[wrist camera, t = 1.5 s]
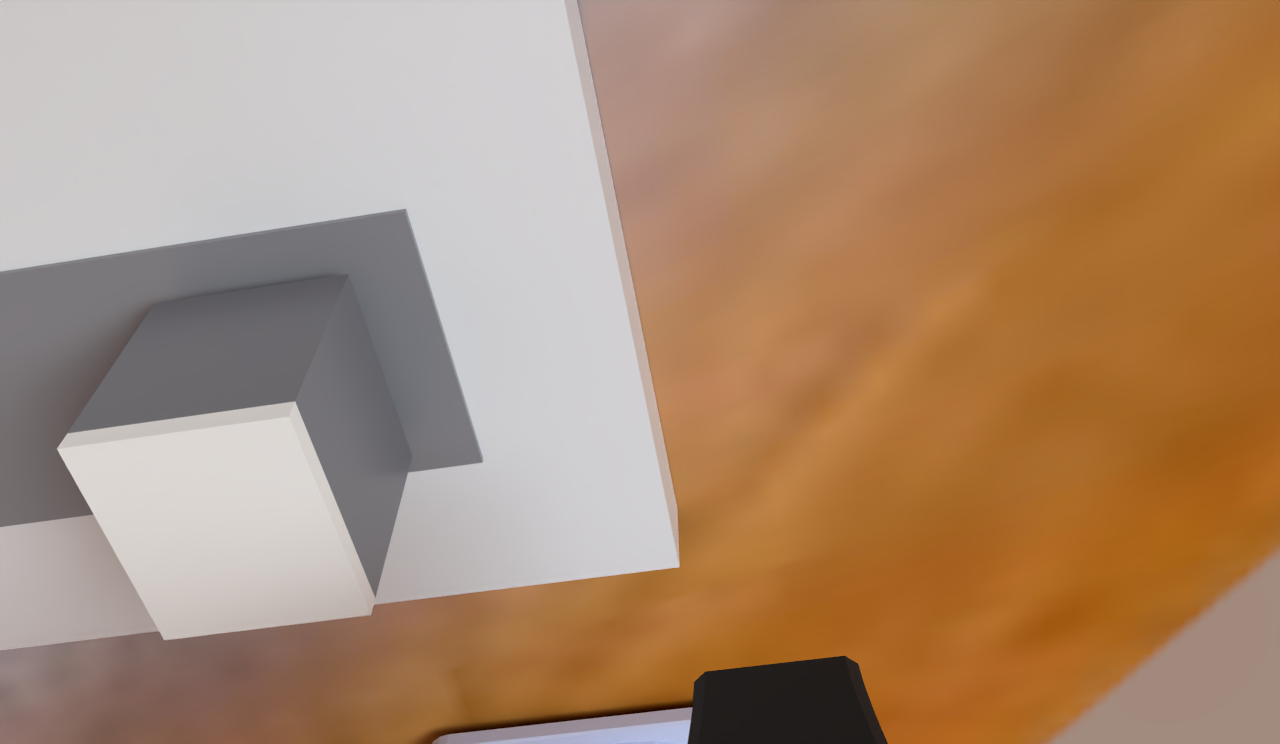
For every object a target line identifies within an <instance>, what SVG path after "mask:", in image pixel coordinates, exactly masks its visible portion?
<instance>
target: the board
mask: <svg viewBox="0 0 1280 744" xmlns="http://www.w3.org/2000/svg"><path fill="white" fill-rule="evenodd" d="M345 274H349V277H350V280H351V283H352V285H353V288H354V291H355V294H356V297H357V300H358V303H359V305H360V308H361V311H362V314H363V317H364V320H365V322H366V325H367V328H368V331H369V334H370V337H371V340H372V342H373V345H374V348H375V351H376V354H377V357H378V360H379V362H380V365H381V368H382V371H383V374H384V377H385V380H386V382H387V385H388V388H389V391H390V394H391V397H392V399H393V402H394V405H395V408H396V411H397V414H398V417H399V419H400V422H401V425H402V428H403V431H404V434H405V437H406V439H407V442H408V445H409V448H410V451H411V454H412V459H411V463H410V467H409V471H408V475H407V479H406V483H405V486H404V490H403V494H402V498H401V502H400V506H399V509H398V513H397V517H396V521H395V525H394V529H393V532H392V536H391V540H390V544H389V548H388V552H387V556H386V559H385V563H384V567H383V571H382V575H381V579H380V582H379V586H378V590H377V594H376V598H375V602H374V605H375V604H383V603H392V602H400V601H408V600H416V599H424V598H432V597H440V596H448V595H457V594H465V593H473V592H481V591H489V590H497V589H505V588H513V587H522V586H530V585H538V584H546V583H554V582H562V581H570V580H578V579H587V578H595V577H603V576H611V575H619V574H627V573H635V572H643V571H652V570H660V569H668V568H676V567H679V541H678V515H677V505H676V500H675V495H674V490H673V484H672V479H671V474H670V469H669V464H668V459H667V454H666V449H665V444H664V439H663V434H662V429H661V424H660V419H659V414H658V409H657V404H656V398H655V393H654V388H653V383H652V378H651V373H650V368H649V363H648V358H647V353H646V348H645V343H644V338H643V333H642V328H641V323H640V318H639V313H638V307H637V302H636V297H635V292H634V287H633V282H632V277H631V272H630V267H629V262H628V257H627V252H626V247H625V242H624V237H623V232H622V227H621V221H620V216H619V211H618V206H617V201H616V196H615V191H614V186H613V181H612V176H611V171H610V166H609V161H608V156H607V151H606V146H605V141H604V136H603V130H602V125H601V120H600V115H599V110H598V105H597V100H596V95H595V90H594V85H593V80H592V75H591V70H590V65H589V60H588V55H587V50H586V45H585V39H584V34H583V29H582V24H581V19H580V14H579V9H578V4H577V0H0V651H2V650H10V649H18V648H26V647H34V646H42V645H50V644H58V643H67V642H75V641H83V640H91V639H99V638H107V637H115V636H123V635H132V634H140V633H148V632H156V631H159V630H158V628H157V626H156V625H155V623H154V621H153V619H152V617H151V616H150V614H149V612H148V610H147V609H146V607H145V605H144V603H143V601H142V600H141V598H140V596H139V594H138V593H137V591H136V589H135V587H134V585H133V584H132V582H131V580H130V578H129V577H128V575H127V573H126V571H125V569H124V568H123V566H122V564H121V562H120V561H119V559H118V557H117V555H116V553H115V552H114V550H113V548H112V546H111V544H110V543H109V541H108V539H107V537H106V536H105V534H104V532H103V530H102V528H101V527H100V525H99V523H98V521H97V520H96V518H95V516H94V514H93V512H92V511H91V509H90V507H89V505H88V504H87V502H86V500H85V498H84V496H83V495H82V493H81V491H80V489H79V488H78V486H77V484H76V482H75V480H74V479H73V477H72V475H71V473H70V472H69V470H68V468H67V466H66V464H65V463H64V461H63V459H62V457H61V456H60V454H59V452H58V450H57V448H58V447H59V445H60V444H61V442H62V441H63V439H64V438H65V436H66V435H67V433H68V432H69V430H70V429H71V427H72V426H73V424H74V423H75V421H76V420H77V418H78V417H79V415H80V414H81V412H82V411H83V409H84V408H85V406H86V405H87V403H88V402H89V400H90V399H91V397H92V396H93V394H94V393H95V391H96V390H97V388H98V387H99V385H100V384H101V382H102V381H103V379H104V378H105V376H106V375H107V373H108V372H109V370H110V369H111V367H112V366H113V364H114V363H115V361H116V360H117V358H118V357H119V355H120V354H121V352H122V351H123V349H124V348H125V346H126V345H127V343H128V342H129V340H130V339H131V337H132V336H133V334H134V333H135V331H136V330H137V329H138V327H139V326H140V324H141V323H142V321H143V320H144V318H145V317H146V315H147V314H148V312H149V311H150V309H151V308H152V306H153V305H154V303H159V302H166V301H173V300H179V299H186V298H192V297H199V296H206V295H212V294H219V293H226V292H232V291H239V290H246V289H252V288H259V287H265V286H272V285H279V284H285V283H292V282H299V281H305V280H312V279H319V278H325V277H332V276H338V275H345Z"/></svg>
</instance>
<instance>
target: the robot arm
mask: <svg viewBox="0 0 1280 744" xmlns="http://www.w3.org/2000/svg"><path fill="white" fill-rule="evenodd" d="M432 744H888V743H887V741H886V738H885V736H884V734H883V732H882V729H881V727H880V725H879V722H878V720H877V717H876V715H875V712H874V710H873V707H872V705H871V702H870V699H869V696H868V694H867V691H866V688H865V685H864V682H863V679H862V676H861V672H860V669H859V665H858V664H857V663H856V662H854V661H852V660H851V659H849V658H847V657H846V656H839V657H830V658H822V659H813V660H804V661H795V662H787V663H778V664H769V665H760V666H752V667H743V668H734V669H725V670H717V671H708V672H705V673H704V674H703V675H701V676H700V677H699V678H698V679H697V680H696V681H695V682H694V694H693V707H688V708H679V709H670V710H661V711H652V712H643V713H634V714H626V715H617V716H608V717H599V718H590V719H581V720H572V721H563V722H554V723H545V724H536V725H527V726H518V727H509V728H500V729H491V730H482V731H473V732H464V733H455V734H448V735H444V736H441V737H439V738H437V739H436V740H434V741H433V743H432Z"/></svg>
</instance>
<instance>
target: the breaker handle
mask: <svg viewBox="0 0 1280 744" xmlns="http://www.w3.org/2000/svg"><path fill="white" fill-rule="evenodd" d="M57 450H58V452H59V454H60V456H61V457H62V459H63V461H64V463H65V464H66V466H67V468H68V470H69V472H70V473H71V475H72V477H73V479H74V480H75V482H76V484H77V486H78V488H79V489H80V491H81V493H82V495H83V496H84V498H85V500H86V502H87V504H88V505H89V507H90V509H91V511H92V512H93V514H94V516H95V518H96V520H97V521H98V523H99V525H100V527H101V528H102V530H103V532H104V534H105V536H106V537H107V539H108V541H109V543H110V544H111V546H112V548H113V550H114V552H115V553H116V555H117V557H118V559H119V561H120V562H121V564H122V566H123V568H124V569H125V571H126V573H127V575H128V577H129V578H130V580H131V582H132V584H133V585H134V587H135V589H136V591H137V593H138V594H139V596H140V598H141V600H142V601H143V603H144V605H145V607H146V609H147V610H148V612H149V614H150V616H151V617H152V619H153V621H154V623H155V625H156V626H157V628H158V630H159V632H160V633H161V635H162V637H163V639H164V640H171V639H179V638H187V637H196V636H204V635H212V634H220V633H228V632H237V631H245V630H253V629H261V628H269V627H277V626H286V625H294V624H302V623H310V622H318V621H327V620H335V619H343V618H351V617H359V616H367V615H371V613H372V609H373V605H374V602H375V598H376V594H377V590H378V586H379V582H380V579H381V575H382V571H383V567H384V563H385V559H386V556H387V552H388V548H389V544H390V540H391V536H392V532H393V529H394V525H395V521H396V517H397V513H398V509H399V506H400V502H401V498H402V494H403V490H404V486H405V483H406V479H407V475H408V471H409V467H410V463H411V459H412V454H411V451H410V448H409V445H408V442H407V439H406V437H405V434H404V431H403V428H402V425H401V422H400V419H399V417H398V414H397V411H396V408H395V405H394V402H393V399H392V397H391V394H390V391H389V388H388V385H387V382H386V380H385V377H384V374H383V371H382V368H381V365H380V362H379V360H378V357H377V354H376V351H375V348H374V345H373V342H372V340H371V337H370V334H369V331H368V328H367V325H366V322H365V320H364V317H363V314H362V311H361V308H360V305H359V303H358V300H357V297H356V294H355V291H354V288H353V285H352V283H351V280H350V277H349V274H345V275H338V276H332V277H325V278H319V279H312V280H305V281H299V282H292V283H285V284H279V285H272V286H265V287H259V288H252V289H246V290H239V291H232V292H226V293H219V294H212V295H206V296H199V297H192V298H186V299H179V300H173V301H166V302H159V303H154V305H153V306H152V308H151V309H150V311H149V312H148V314H147V315H146V317H145V318H144V320H143V321H142V323H141V324H140V326H139V327H138V329H137V330H136V331H135V333H134V334H133V336H132V337H131V339H130V340H129V342H128V343H127V345H126V346H125V348H124V349H123V351H122V352H121V354H120V355H119V357H118V358H117V360H116V361H115V363H114V364H113V366H112V367H111V369H110V370H109V372H108V373H107V375H106V376H105V378H104V379H103V381H102V382H101V384H100V385H99V387H98V388H97V390H96V391H95V393H94V394H93V396H92V397H91V399H90V400H89V402H88V403H87V405H86V406H85V408H84V409H83V411H82V412H81V414H80V415H79V417H78V418H77V420H76V421H75V423H74V424H73V426H72V427H71V429H70V430H69V432H68V433H67V435H66V436H65V438H64V439H63V441H62V442H61V444H60V445H59V447H58V448H57Z"/></svg>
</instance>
